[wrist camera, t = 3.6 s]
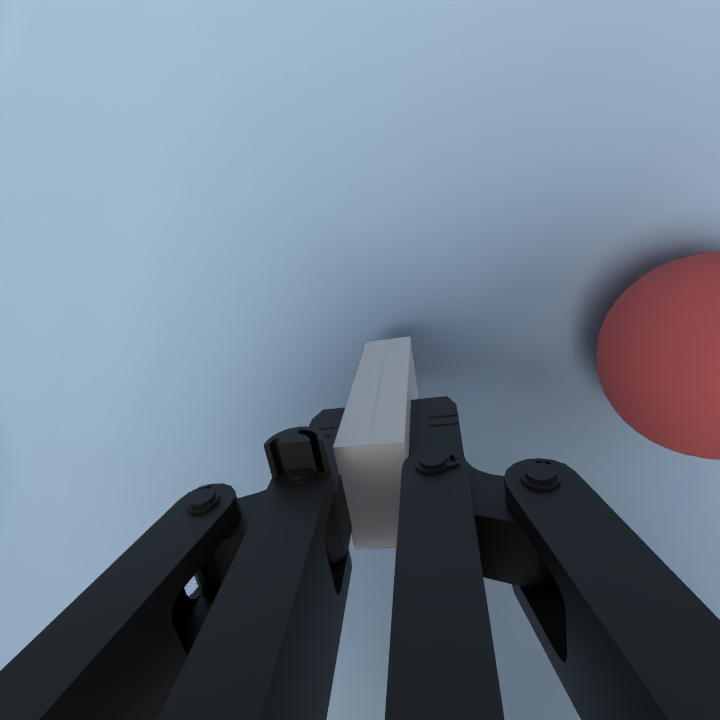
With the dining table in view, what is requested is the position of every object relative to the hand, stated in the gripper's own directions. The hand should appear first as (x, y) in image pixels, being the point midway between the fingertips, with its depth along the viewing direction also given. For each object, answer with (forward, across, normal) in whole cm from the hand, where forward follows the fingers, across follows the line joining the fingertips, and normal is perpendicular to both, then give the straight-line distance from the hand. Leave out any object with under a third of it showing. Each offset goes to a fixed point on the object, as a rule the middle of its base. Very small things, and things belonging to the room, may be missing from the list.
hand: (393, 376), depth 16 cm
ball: (-1, -9, 0) cm, 9 cm away
